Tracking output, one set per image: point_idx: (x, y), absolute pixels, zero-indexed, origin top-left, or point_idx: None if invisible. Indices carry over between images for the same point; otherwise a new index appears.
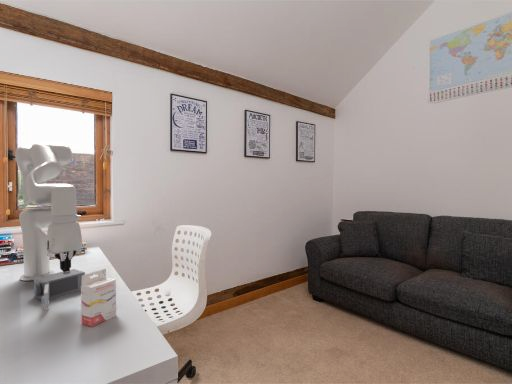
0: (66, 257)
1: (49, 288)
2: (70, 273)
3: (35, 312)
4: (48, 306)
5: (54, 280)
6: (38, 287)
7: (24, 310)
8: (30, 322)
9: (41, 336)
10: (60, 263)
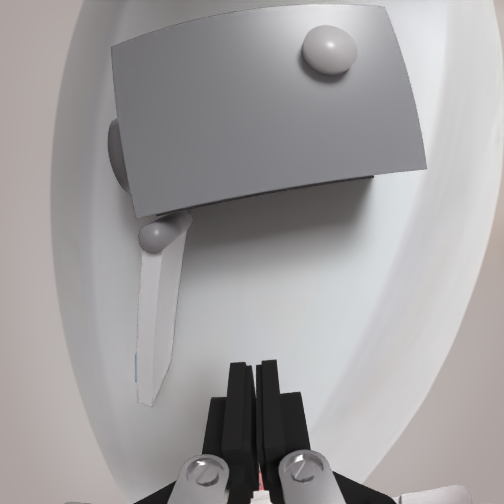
0: (273, 492)
1: (176, 235)
2: (345, 105)
3: (134, 314)
4: (171, 349)
5: (205, 203)
6: (123, 187)
7: (101, 255)
8: (126, 386)
9: (158, 464)
10: (208, 445)
